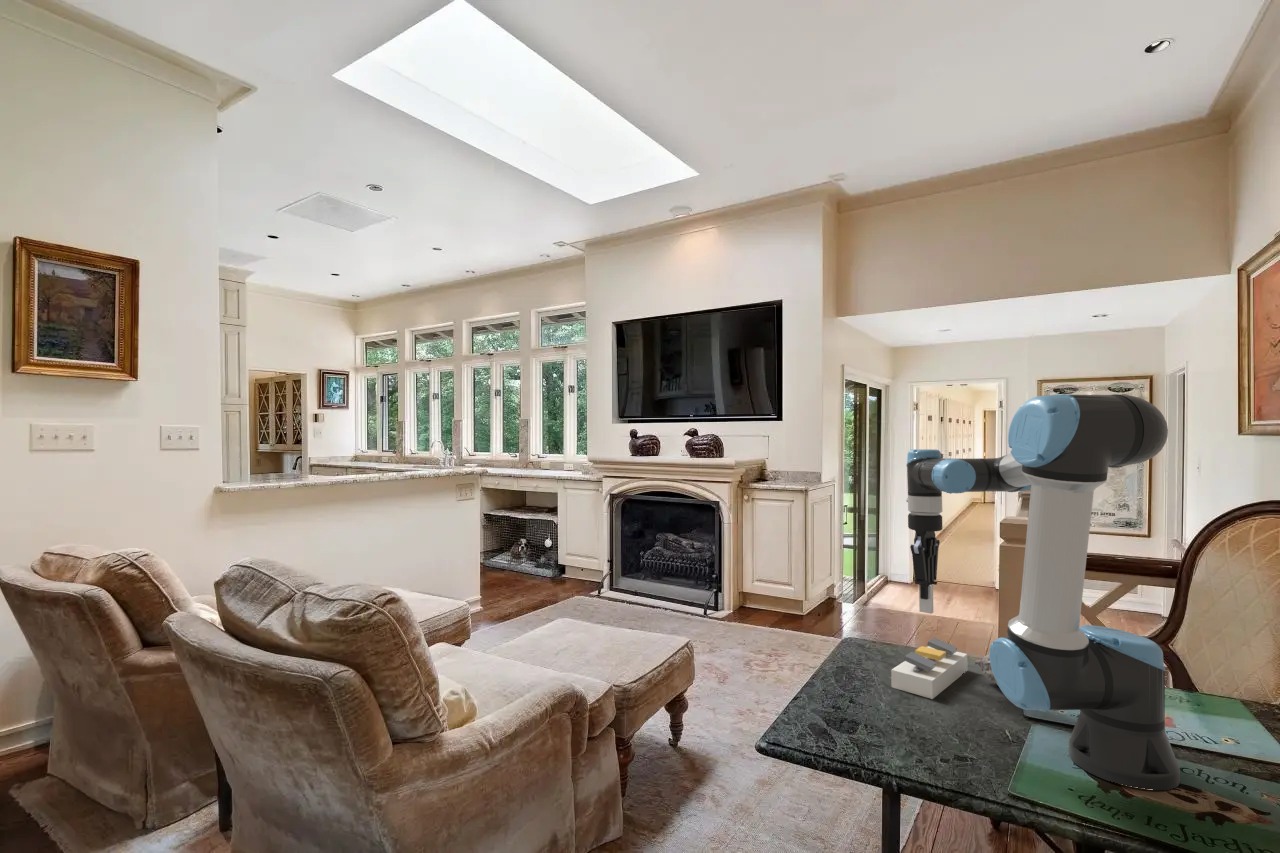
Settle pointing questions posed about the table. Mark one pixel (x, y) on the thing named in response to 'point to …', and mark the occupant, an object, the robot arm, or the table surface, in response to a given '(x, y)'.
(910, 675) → the white rocker switch box
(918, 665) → the block
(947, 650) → the block
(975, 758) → the table surface
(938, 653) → the amber rocker
